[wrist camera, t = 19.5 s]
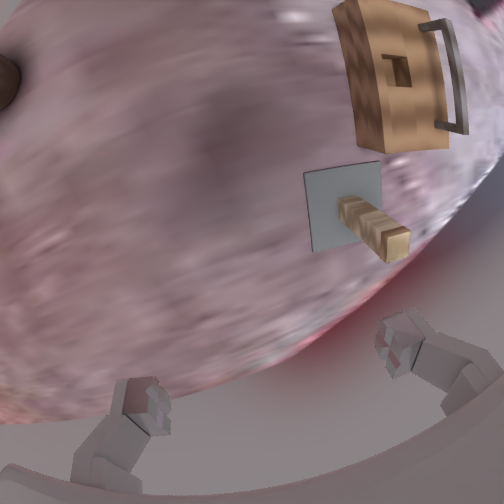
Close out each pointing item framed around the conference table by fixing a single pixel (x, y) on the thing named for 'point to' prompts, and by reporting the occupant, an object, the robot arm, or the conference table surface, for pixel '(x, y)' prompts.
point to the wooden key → (375, 228)
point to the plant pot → (8, 81)
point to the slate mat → (326, 205)
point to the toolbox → (399, 76)
